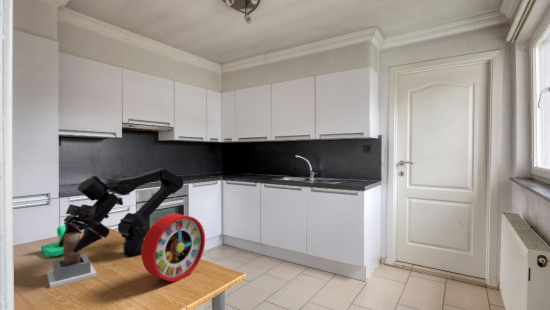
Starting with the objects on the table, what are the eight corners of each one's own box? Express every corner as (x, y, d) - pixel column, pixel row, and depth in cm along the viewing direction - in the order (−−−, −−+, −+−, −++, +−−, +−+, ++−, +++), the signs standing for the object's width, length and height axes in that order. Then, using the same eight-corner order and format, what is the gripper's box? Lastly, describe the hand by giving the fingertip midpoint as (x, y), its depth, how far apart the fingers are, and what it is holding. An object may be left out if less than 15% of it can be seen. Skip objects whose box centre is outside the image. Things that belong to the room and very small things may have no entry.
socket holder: (90, 264, 102) (89, 251, 101) (97, 276, 93) (96, 262, 93) (46, 274, 94) (46, 260, 93) (49, 288, 85) (49, 273, 84)
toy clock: (153, 292, 83) (153, 223, 82) (141, 286, 86) (141, 220, 85) (205, 267, 100) (205, 210, 99) (193, 264, 103) (193, 208, 102)
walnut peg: (82, 268, 96) (82, 231, 95) (75, 274, 91) (75, 235, 91) (68, 269, 95) (68, 232, 95) (60, 275, 91) (60, 236, 90)
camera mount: (40, 252, 113) (39, 226, 112) (62, 247, 119) (62, 222, 119) (52, 259, 106) (52, 232, 106) (75, 253, 113) (75, 227, 112)
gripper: (69, 192, 100) (31, 231, 91) (99, 197, 91) (60, 241, 82) (93, 210, 107) (60, 248, 98) (123, 216, 98) (89, 259, 89)
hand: (66, 249), depth 92 cm, fingers open, 9 cm apart
